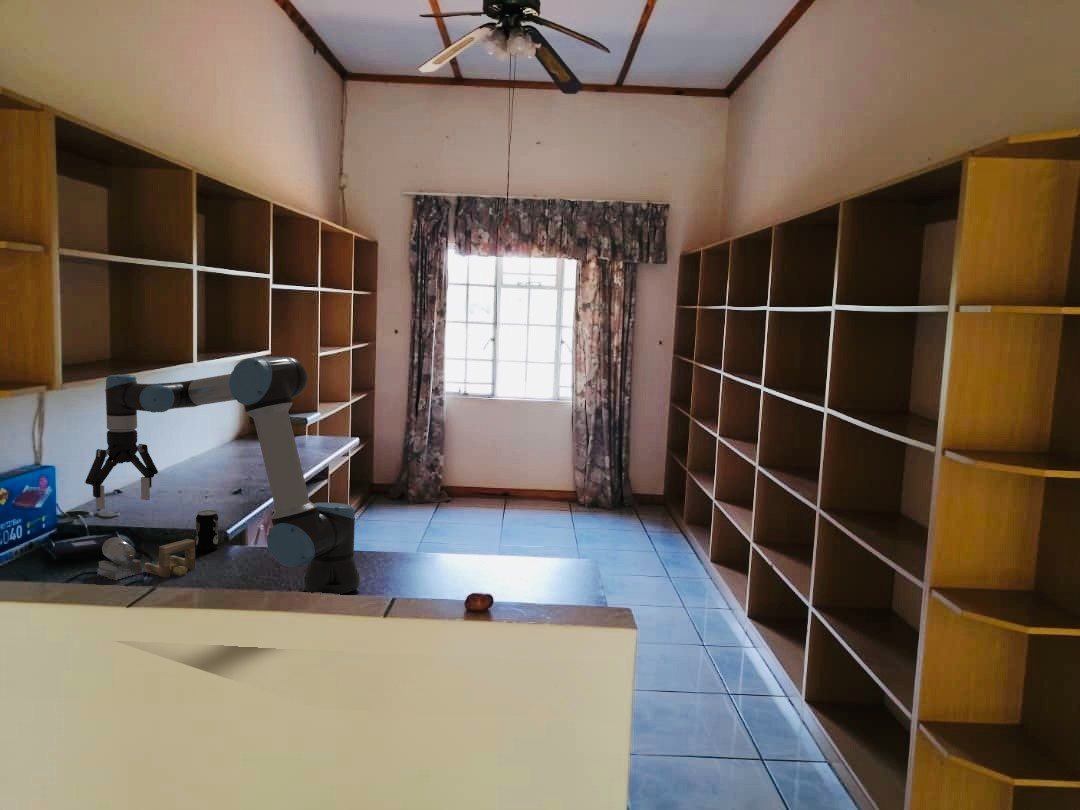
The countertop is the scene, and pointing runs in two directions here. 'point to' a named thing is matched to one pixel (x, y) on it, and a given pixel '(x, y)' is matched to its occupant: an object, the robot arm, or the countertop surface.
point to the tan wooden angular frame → (173, 558)
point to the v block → (119, 569)
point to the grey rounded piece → (118, 551)
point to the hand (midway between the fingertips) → (123, 504)
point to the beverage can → (207, 530)
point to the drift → (177, 569)
